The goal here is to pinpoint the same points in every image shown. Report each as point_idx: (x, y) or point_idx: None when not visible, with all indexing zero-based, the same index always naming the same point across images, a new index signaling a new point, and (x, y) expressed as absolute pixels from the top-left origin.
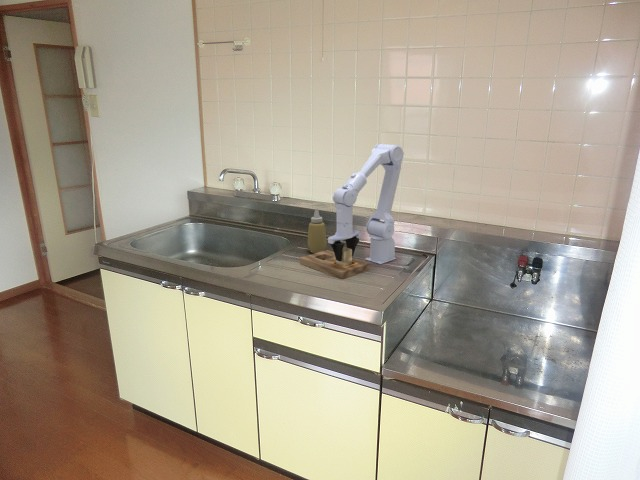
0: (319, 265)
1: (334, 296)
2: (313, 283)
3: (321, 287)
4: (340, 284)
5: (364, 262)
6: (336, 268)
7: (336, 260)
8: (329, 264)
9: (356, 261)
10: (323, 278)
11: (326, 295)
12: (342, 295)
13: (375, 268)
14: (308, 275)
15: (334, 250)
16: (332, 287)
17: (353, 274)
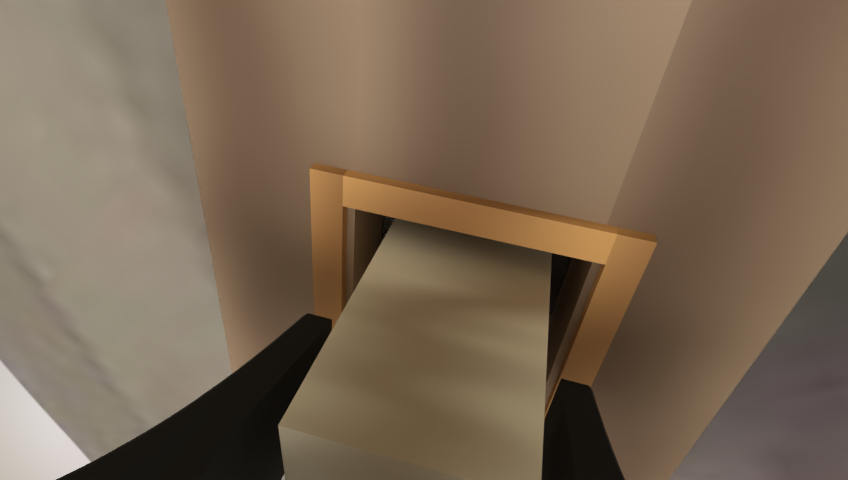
0: (184, 44)
1: (70, 404)
2: (24, 206)
3: (52, 294)
4: (196, 370)
5: (641, 472)
6: (261, 316)
7: (368, 268)
8: (290, 178)
9: (630, 400)
10: (151, 211)
11: (34, 369)
12: (114, 430)
13: (707, 470)
14: (50, 19)
15: (172, 441)
16: (120, 350)
17: None
